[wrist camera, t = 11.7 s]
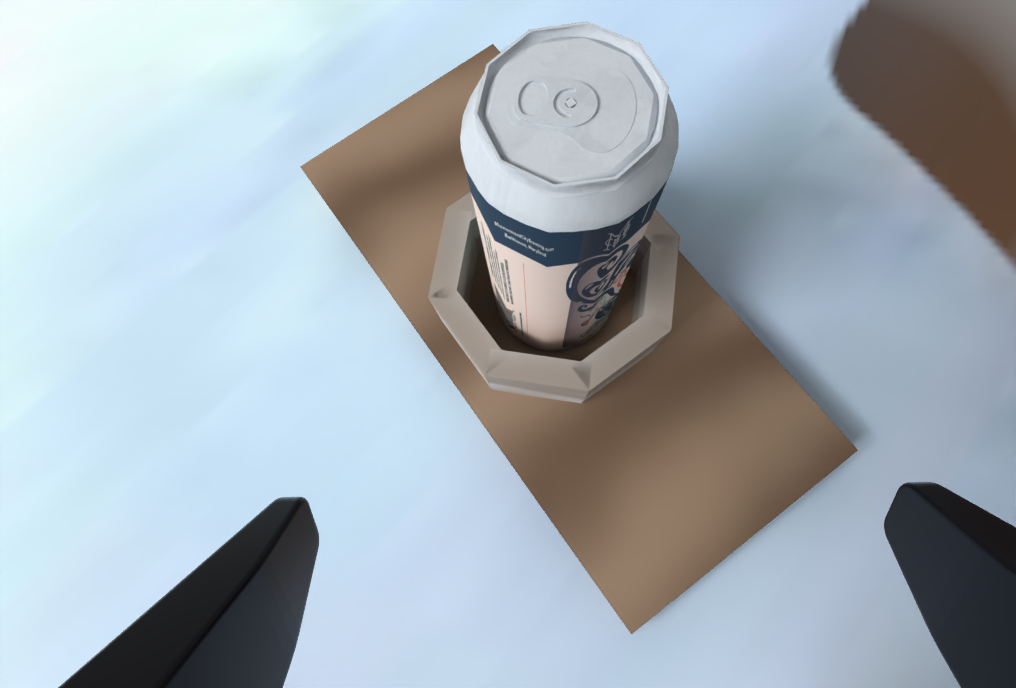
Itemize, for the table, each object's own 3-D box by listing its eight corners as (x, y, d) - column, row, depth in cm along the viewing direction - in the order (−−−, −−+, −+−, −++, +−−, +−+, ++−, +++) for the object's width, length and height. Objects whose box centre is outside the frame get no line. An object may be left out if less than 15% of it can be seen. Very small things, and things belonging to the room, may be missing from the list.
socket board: (843, 451, 21) (912, 444, 17) (626, 626, 20) (648, 661, 16) (494, 59, 27) (487, -12, 23) (309, 178, 26) (269, 124, 22)
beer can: (601, 363, 21) (676, 225, 10) (486, 343, 22) (429, 188, 10) (618, 256, 23) (704, 18, 11) (509, 238, 23) (480, -8, 11)
